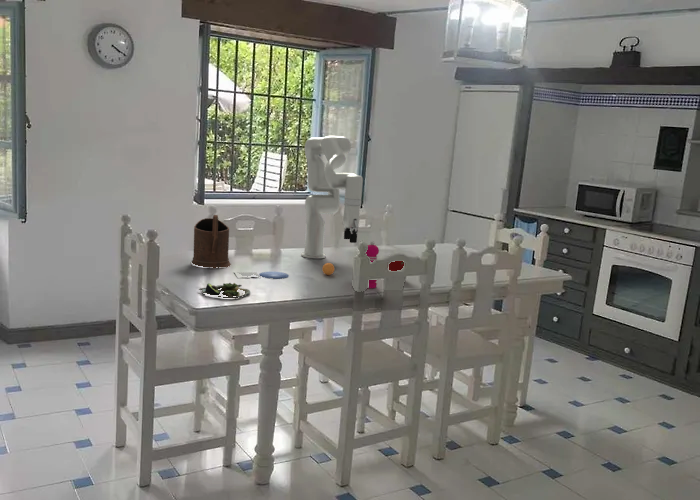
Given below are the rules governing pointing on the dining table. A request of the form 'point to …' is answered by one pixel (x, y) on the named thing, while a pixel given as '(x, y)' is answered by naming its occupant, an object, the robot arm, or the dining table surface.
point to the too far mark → (249, 274)
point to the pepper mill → (372, 255)
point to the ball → (328, 268)
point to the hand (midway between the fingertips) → (350, 240)
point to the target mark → (274, 275)
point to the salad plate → (228, 290)
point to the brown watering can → (211, 243)
